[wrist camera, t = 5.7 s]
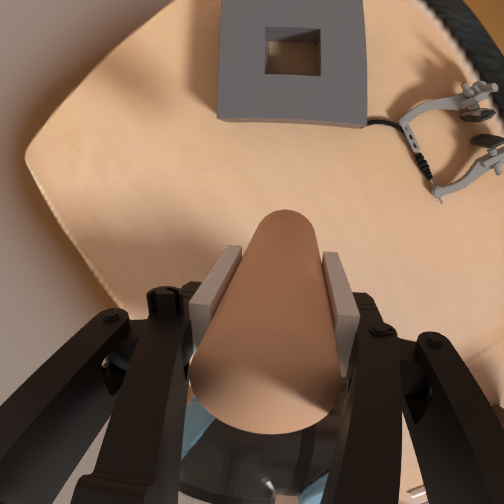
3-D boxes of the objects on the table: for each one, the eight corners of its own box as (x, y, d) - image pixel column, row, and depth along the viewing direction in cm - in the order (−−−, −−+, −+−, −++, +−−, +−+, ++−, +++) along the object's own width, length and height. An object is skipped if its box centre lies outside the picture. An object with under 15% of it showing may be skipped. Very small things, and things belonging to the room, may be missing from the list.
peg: (313, 270, 23) (327, 437, 9) (254, 266, 23) (196, 424, 9) (317, 211, 21) (356, 330, 7) (255, 208, 22) (182, 316, 8)
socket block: (357, 128, 33) (366, 125, 29) (226, 122, 35) (216, 118, 31) (355, 15, 28) (362, -1, 24) (230, 11, 30) (222, -5, 26)
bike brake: (474, 73, 27) (356, 124, 35) (495, 66, 21) (361, 124, 29) (510, 162, 30) (400, 215, 38) (534, 171, 24) (411, 232, 32)
